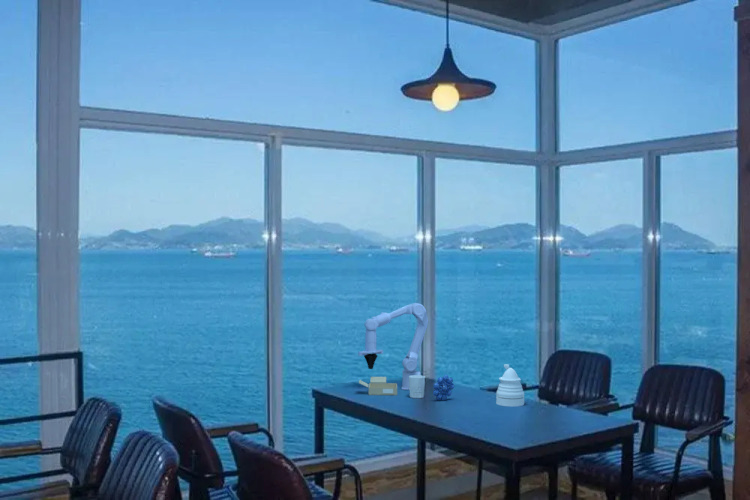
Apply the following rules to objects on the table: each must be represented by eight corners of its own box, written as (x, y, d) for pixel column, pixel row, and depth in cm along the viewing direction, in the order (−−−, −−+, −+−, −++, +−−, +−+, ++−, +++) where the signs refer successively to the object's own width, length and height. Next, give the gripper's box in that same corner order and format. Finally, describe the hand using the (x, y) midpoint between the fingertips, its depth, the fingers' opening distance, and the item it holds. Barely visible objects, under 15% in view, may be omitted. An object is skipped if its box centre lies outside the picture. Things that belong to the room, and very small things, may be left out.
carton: (396, 390, 391) (396, 383, 391) (397, 395, 377) (397, 388, 377) (369, 389, 392) (369, 383, 392) (368, 395, 377) (368, 387, 378)
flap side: (386, 382, 392) (386, 377, 396) (386, 382, 392) (386, 376, 396) (370, 382, 392) (370, 377, 397) (370, 382, 392) (370, 376, 396)
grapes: (449, 397, 372) (449, 373, 372) (456, 400, 365) (456, 375, 366) (428, 399, 366) (428, 374, 366) (435, 402, 360) (436, 376, 360)
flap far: (368, 384, 386) (359, 379, 386) (368, 387, 378) (359, 382, 378) (368, 384, 386) (359, 380, 386) (367, 387, 378) (358, 382, 378)
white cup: (425, 395, 377) (425, 375, 377) (424, 398, 369) (424, 377, 369) (409, 395, 377) (409, 375, 377) (408, 398, 370) (408, 377, 370)
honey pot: (492, 404, 355) (492, 365, 356) (501, 400, 367) (501, 362, 367) (519, 407, 349) (519, 367, 350) (527, 402, 361) (527, 364, 361)
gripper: (364, 343, 386) (363, 371, 386) (386, 342, 395) (386, 368, 395) (355, 342, 392) (355, 369, 392) (378, 340, 400) (378, 366, 400)
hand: (370, 368), depth 394 cm, fingers closed
